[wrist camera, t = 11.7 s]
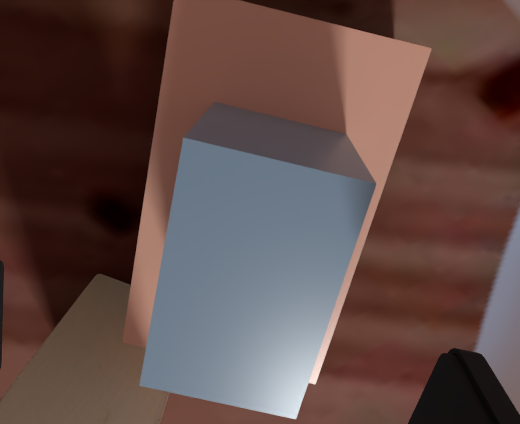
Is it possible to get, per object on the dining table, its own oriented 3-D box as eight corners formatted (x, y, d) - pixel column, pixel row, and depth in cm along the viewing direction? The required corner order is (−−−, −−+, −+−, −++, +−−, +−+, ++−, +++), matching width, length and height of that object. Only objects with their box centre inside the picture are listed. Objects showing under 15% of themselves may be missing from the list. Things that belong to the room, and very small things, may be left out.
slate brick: (214, 101, 17) (183, 137, 12) (346, 133, 18) (376, 183, 12) (178, 287, 20) (139, 385, 15) (291, 312, 21) (295, 419, 15)
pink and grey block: (199, -6, 24) (161, -20, 16) (394, 43, 24) (445, 51, 17) (154, 259, 29) (111, 340, 22) (314, 295, 29) (325, 386, 22)
